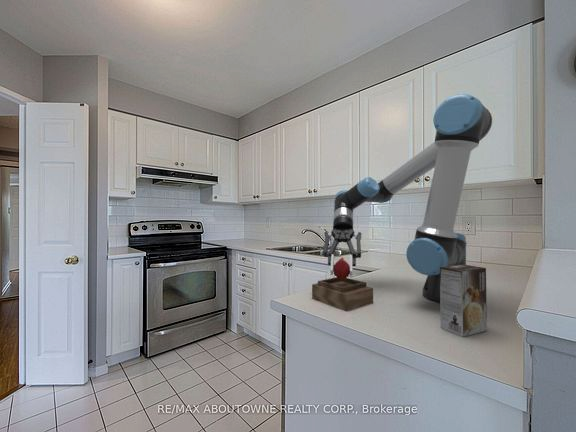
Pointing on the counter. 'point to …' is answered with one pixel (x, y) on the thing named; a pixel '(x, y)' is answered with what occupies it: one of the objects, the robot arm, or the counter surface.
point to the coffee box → (463, 299)
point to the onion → (341, 269)
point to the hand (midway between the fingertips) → (341, 272)
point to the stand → (343, 293)
